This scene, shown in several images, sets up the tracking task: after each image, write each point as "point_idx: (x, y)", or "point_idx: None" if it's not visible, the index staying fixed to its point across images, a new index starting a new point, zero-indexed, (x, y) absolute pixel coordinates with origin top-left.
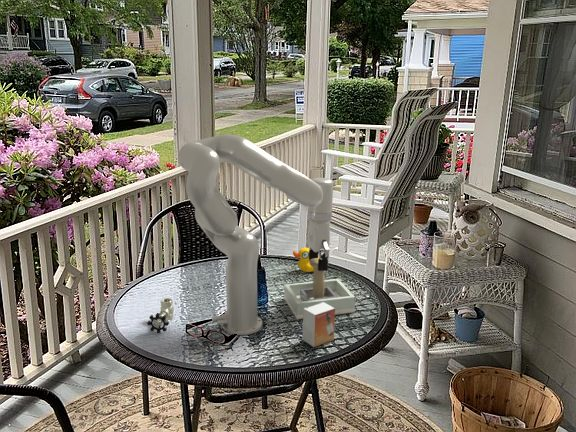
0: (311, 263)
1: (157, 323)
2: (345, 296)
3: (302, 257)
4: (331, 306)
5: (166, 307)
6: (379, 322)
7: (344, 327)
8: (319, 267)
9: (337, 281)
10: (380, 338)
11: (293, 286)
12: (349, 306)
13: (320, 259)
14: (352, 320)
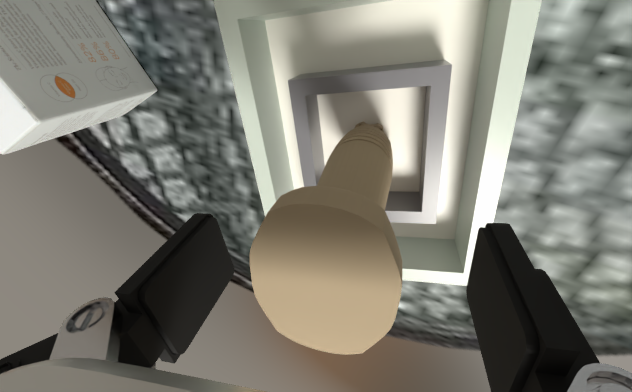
0: (278, 204)
1: None
2: None
3: None
4: (8, 145)
5: None
6: (233, 260)
7: (200, 169)
8: (183, 236)
9: (448, 273)
10: (155, 229)
11: (503, 20)
12: None
13: (83, 304)
14: (244, 206)
